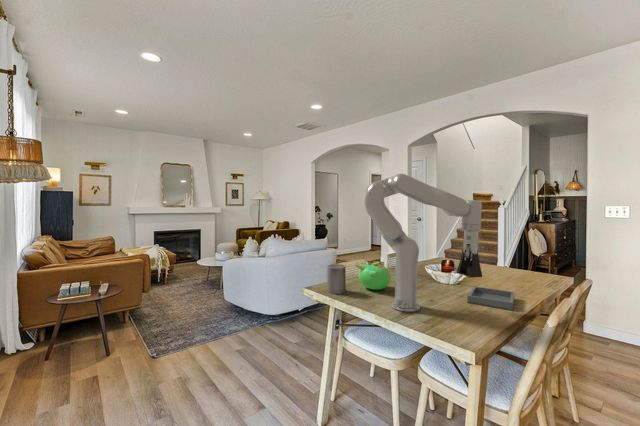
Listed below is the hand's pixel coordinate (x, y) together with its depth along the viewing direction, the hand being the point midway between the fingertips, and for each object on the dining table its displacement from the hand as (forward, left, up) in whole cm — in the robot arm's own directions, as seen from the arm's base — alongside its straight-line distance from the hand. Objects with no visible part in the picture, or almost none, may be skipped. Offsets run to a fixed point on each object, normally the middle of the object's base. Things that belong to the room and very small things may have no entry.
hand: (469, 268), depth 135 cm
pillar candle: (-13, +62, -19) cm, 66 cm away
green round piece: (+3, +48, -19) cm, 51 cm away
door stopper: (0, 0, -3) cm, 3 cm away
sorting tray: (+18, -7, -18) cm, 27 cm away
